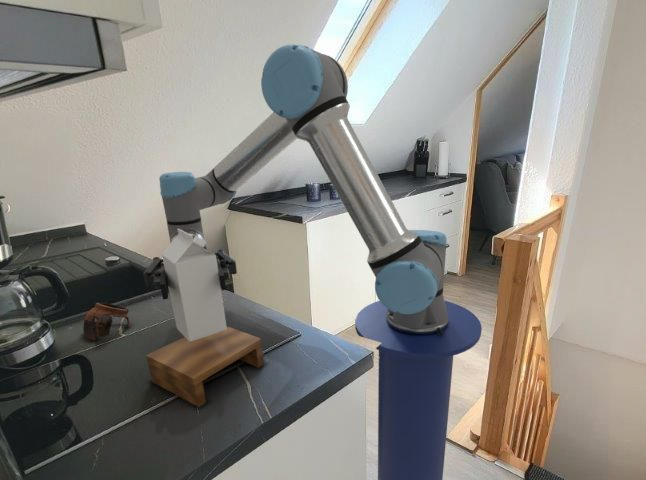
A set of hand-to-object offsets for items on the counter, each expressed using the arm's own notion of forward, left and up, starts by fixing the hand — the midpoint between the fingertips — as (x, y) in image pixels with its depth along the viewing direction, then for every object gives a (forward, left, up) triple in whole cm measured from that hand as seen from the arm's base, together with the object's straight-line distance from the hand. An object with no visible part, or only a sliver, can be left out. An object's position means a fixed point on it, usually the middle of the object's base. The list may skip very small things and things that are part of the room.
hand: (194, 287), depth 69 cm
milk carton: (+4, -3, -11) cm, 12 cm away
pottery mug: (+39, -1, -20) cm, 44 cm away
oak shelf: (+4, -3, -20) cm, 21 cm away
